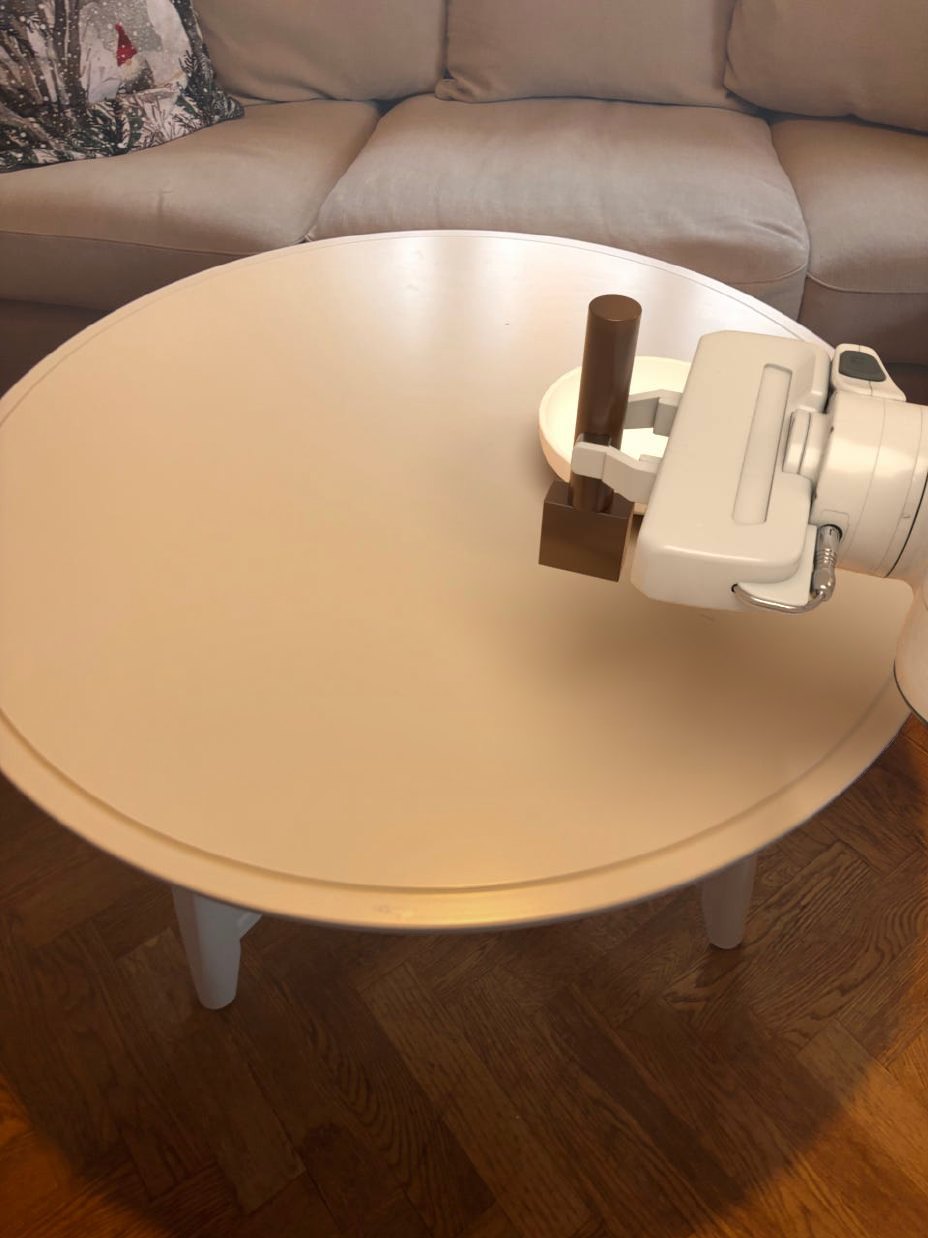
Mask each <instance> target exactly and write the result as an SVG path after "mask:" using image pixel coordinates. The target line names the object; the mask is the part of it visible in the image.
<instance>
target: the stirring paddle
mask: <svg viewBox="0 0 928 1238" xmlns="http://www.w3.org/2000/svg"><path fill="white" fill-rule="evenodd" d="M642 314H643V308H642V305H641V303H640V302H638V300H636V299H635V298H632V297H630V296H627V295H624V294H616V293H608V294H601V295H598V296H595V297H594V298H593V299H591V301H590V302H589V304H588V309H587V317H586V325H585V334H584V343H583V344H584V345H583V353H582V362H581V366H582V370H581V379H580V388H579V398H578V407H577V416H576V425H575V434H574V443H573V448H574V445H575V443H576V441H577V439H578V436H579V435H580V434H581V433H582V432H590V433H593V434H594V435H606V436H611V437H612V439H611V446H612V447H614V448H616V449H618V450H619V451H621V445H622V438H623V432H624V425H625V419H626V412H627V406H628V399H629V393H630V386H631V380H632V373H633V367H634V360H635V356H636V354H637V347H638V341H639V340H638V339H639V333H640V332H639V331H640V327H641V320H642ZM542 502H543V503H542V515H541V525H540V526H541V528H540V537H539V549H538V561H537V564H538V565H539V566H544V567H548V568H554V569H558V570H562V571H566V572H570V573H574V574H579V575H583V576H588V577H592V578H595V579H596V578H597V579H601V580H606V581H610V582H613V583H619V581H620V579H621V575H622V573H623V569H624V565H625V562H626V559H627V553H628V548H629V542H630V537H631V532H632V531H631V530H632V525H633V519H634V515H635V514H634V508H635V503H636V502H632V501H629V500H627V499H626V498H625V497H623V496H622V495H621V494H619V493H616V492H614V489H612V488H611V487H610V486H608V485H607V484H606V483H604V482H603V481H602V479H597V478H593V477H588V476H583V475H579V474H576V473H574V472H573V471H572V470H571V471H570V480H569V482H565V481H564V480H558V479H552V481H551V482H550V485H549V488H548V490H547V493H546V495H545V497H544V499H543V501H542Z"/></svg>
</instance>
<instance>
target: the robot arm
mask: <svg viewBox="0 0 928 1238" xmlns="http://www.w3.org/2000/svg"><path fill="white" fill-rule="evenodd" d="M691 363H692V364H691V367H690V371H689V374H688V377H687V380H686V383H685V387H684V390H683V393H681V392H675V391H670V390H665V389H659V390H654V391H648V392H643V393H637V394H631V395H629V399H628V406H627V412H626V419H625V425H624V429H641V428H653V434H655V435H660V436H665V437H669V438H668V441H667V444H666V447H665V451H664V454H663V457H656V456H651V455H646V454H641V455H640V457H639V460H636V459H635V458H633V457H631V456H629V455H627V454H625V453H623V452H621V451H619V450H618V449H616V448H614V447H612V446H611V439H612V437H611V436H606V435H594V434H593V433H590V432H582V433H581V434H580V435H579V436H578V439H577V441H576V443H575V445H574V448H573V450H572V457H571V465H570V467H571V470H572V471H573V472H574V473H576V474H579V475H583V476H588V477H593V478H597V479H602V481H603V482H604V483H606V484H607V485H608V486H610V487H611V488H612V489H614V490H615V491H616V492H618V493H619V494H621V495H622V496H623V497H625V498H626V499H627V500H629V501H632V502H637V503H641V504H646V505H647V508H646V511H645V515H643V518H642V521H641V525H640V527H639V531H638V534H637V537H636V543H635V548H634V553H633V557H632V563H631V568H630V570H631V571H630V576H629V579H630V582H631V584H632V585H633V586H634V587H635V588H637V590H639V592H641V593H642V594H643V595H644V596H646V597H647V598H649V599H651V600H655V601H659V602H665V603H670V604H677V605H681V606H688V607H695V608H702V609H710V610H718V611H719V610H720V611H728V612H741V613H760V612H761V613H763V612H772V613H777V614H781V615H785V616H794V617H795V616H802V615H803V614H804V613H807V612H810V611H812V610H816V608H818V607H819V606H820V605H822V603H824V602H828V601H829V600H831V598H832V596H833V595H834V592H835V589H836V585H837V578H836V573H835V570H836V569H838V570H842V571H846V572H851V573H856V574H859V575H865V576H869V577H875V578H878V579H887V580H888V579H890V580H896V581H897V580H898V581H900V582H901V581H902V582H904V583H906V584H907V585H908V586H909V587H910V588H911V590H912V591H911V592H912V594H913V595H912V597H913V598H912V601H911V604H910V606H909V608H908V610H907V613H906V614H905V616H904V619H903V621H902V622H901V625H900V628H899V630H898V635H897V638H896V645H895V655H894V659H893V667H892V668H893V670H892V671H893V672H892V673H893V679H894V683H895V684H896V687H897V690H898V692H899V694H900V696H901V698H902V700H903V701H904V703H905V705H906V706H907V708H908V709H909V710H910V712H911V713H912V714H913V716H915V718H916V719H917V720H918V721H919V722H920V723H921V724H922V725H923V726H924V728H926V729H927V730H928V405H924V404H918V403H911V402H907V397H906V395H905V393H904V392H903V390H901V389H900V388H899V386H897V384H896V383H895V382H894V381H893V379H892V378H891V376H890V375H889V373H888V371H887V370H886V368H885V366H884V364H883V362H882V360H881V358H880V357H879V355H878V353H877V352H876V351H875V350H874V349H873V348H870V347H869V346H865V345H862V344H861V345H859V344H855V343H840V344H838V345H837V346H836V347H835V349H834V352H833V355H832V358H831V356H830V354H829V353H828V351H826V349H824V347H821V346H819V345H818V344H815V343H813V342H809V341H805V340H802V339H798V338H797V339H796V338H791V337H785V336H780V335H779V336H778V335H773V334H766V333H760V332H759V333H758V332H751V331H742V330H733V329H732V330H731V329H723V330H718V331H713V332H709V333H706V334H703V335H701V336H700V337H699V338H698V342H697V345H696V348H695V351H694V354H693V358H692V360H691ZM810 598H811V600H809V599H810Z"/></svg>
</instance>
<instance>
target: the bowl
mask: <svg viewBox="0 0 928 1238" xmlns="http://www.w3.org/2000/svg"><path fill="white" fill-rule="evenodd" d="M691 364H692V362H689V361H685V360H680V359H675V358H669V357H660V356H653V355H652V356H651V355H635V360H634V367H633V373H632V380H631V386H630V393H629V395H631V394H637V393H643V392H648V391H654V390H659V389H665V390H670V391H675V392H681V393H683V390H684V387H685V383H686V380H687V377H688V374H689V371H690V367H691ZM581 370H582V365H580V366H578V367H575V368H574V369H572V370H570V371H569V372H566V373H565V374H563V375H562V376H560V377H559V378H557V380H555V381H554V382H553V383H552V384H551V385H549V386H548V388H547V390H546V391H545V393H544V395H543V396H542V397H541V400H540V404H539V408H538V412H537V413H538V415H537V416H538V417H537V418H538V424H537V425H538V435H539V440H540V444H541V449H542V451H543V454H544V456H545V459H546V461H547V463H548V464H549V466H550V467H551V468H552V469H553V471H554V473H556V475H557V476H558V477H559V478H561V479H562V481H564V482H569V480H570V471H571V467H570V465H571V457H572V450H573V443H574V434H575V425H576V416H577V407H578V398H579V388H580V379H581ZM668 438H669V437H665V436H660V435H655V434H653V428H641V429H624V432H623V438H622V445H621V452H623V453H625V454H627V455H629V456H631V457H633V458H635V459H636V460H639V457H640V455H641V454H646V455H651V456H656V457H663V454H664V451H665V447H666V444H667V441H668ZM614 492H616V491H615V490H614ZM616 493H618V492H616ZM646 508H647V505H646V504H641V503H637V502H636V503H635V508H634V514H633V515H641V516H644V515H645V511H646Z"/></svg>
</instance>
